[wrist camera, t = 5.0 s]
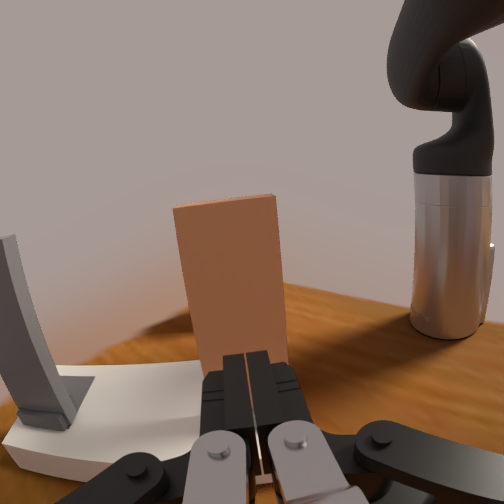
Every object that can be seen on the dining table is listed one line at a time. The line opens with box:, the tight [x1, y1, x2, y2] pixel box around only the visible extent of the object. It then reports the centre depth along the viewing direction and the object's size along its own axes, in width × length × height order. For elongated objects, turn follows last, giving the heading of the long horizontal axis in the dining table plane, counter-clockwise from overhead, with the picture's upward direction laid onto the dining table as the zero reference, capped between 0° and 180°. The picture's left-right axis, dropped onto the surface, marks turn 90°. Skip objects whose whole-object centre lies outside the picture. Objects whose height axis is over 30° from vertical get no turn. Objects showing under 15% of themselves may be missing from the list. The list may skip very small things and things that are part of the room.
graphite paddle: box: [0, 234, 77, 431], centre depth 17 cm, size 5×3×14 cm, turn 95°
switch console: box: [2, 360, 273, 485], centre depth 21 cm, size 23×12×3 cm, turn 95°
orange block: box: [173, 194, 288, 429], centre depth 18 cm, size 5×3×14 cm, turn 95°
